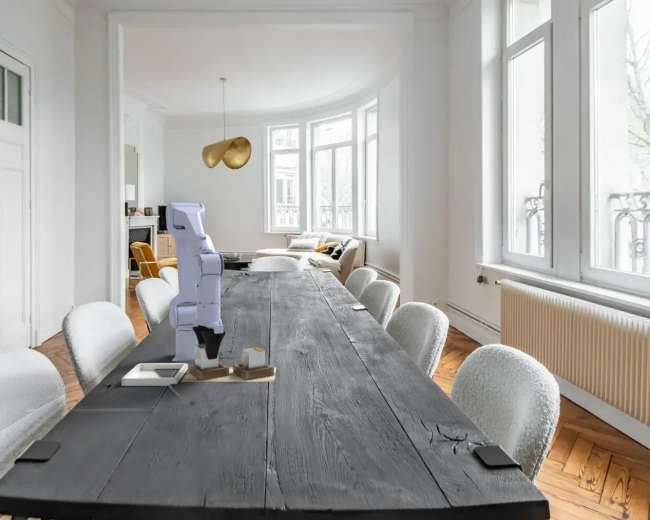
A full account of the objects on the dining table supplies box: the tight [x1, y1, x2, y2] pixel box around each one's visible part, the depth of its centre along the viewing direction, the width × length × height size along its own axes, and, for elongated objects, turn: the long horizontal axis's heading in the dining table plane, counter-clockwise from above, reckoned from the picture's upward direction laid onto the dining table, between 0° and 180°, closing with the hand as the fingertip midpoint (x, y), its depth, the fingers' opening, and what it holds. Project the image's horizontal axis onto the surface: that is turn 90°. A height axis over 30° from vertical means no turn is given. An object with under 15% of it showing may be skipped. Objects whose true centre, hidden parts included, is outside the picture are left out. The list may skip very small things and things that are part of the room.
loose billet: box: [194, 343, 219, 371], centre depth 123 cm, size 4×4×6 cm
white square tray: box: [120, 362, 189, 387], centre depth 122 cm, size 13×13×2 cm
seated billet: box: [241, 346, 266, 371], centre depth 124 cm, size 4×4×6 cm
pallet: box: [180, 360, 277, 383], centre depth 124 cm, size 12×22×3 cm, turn 93°
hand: (208, 356), depth 123 cm, fingers closed on loose billet, 4 cm apart
